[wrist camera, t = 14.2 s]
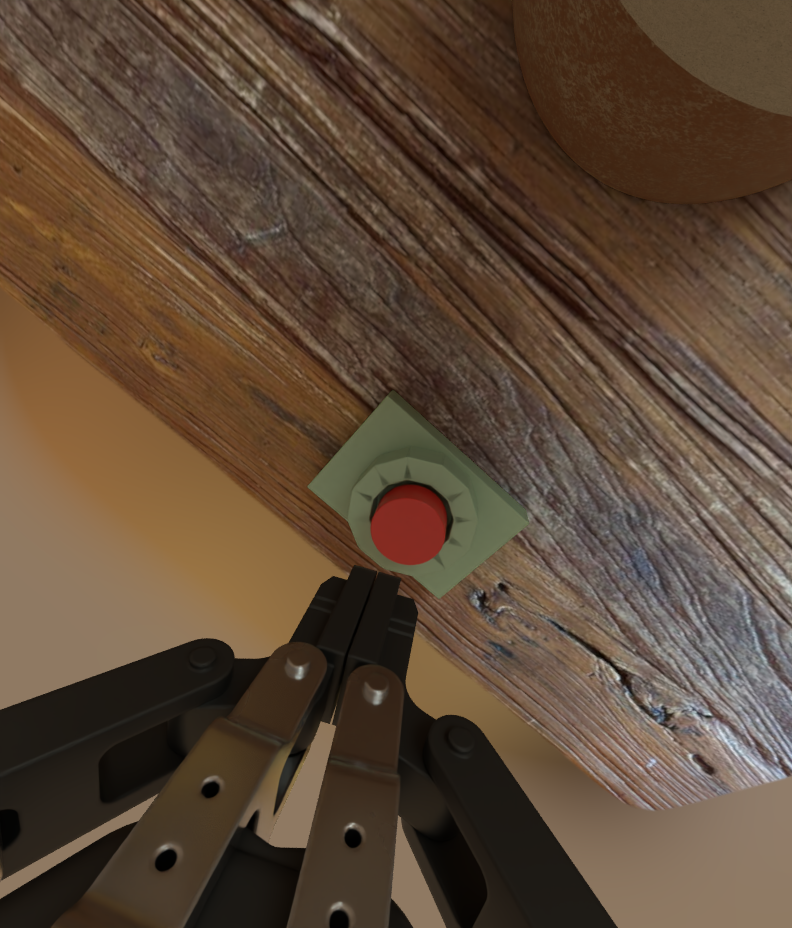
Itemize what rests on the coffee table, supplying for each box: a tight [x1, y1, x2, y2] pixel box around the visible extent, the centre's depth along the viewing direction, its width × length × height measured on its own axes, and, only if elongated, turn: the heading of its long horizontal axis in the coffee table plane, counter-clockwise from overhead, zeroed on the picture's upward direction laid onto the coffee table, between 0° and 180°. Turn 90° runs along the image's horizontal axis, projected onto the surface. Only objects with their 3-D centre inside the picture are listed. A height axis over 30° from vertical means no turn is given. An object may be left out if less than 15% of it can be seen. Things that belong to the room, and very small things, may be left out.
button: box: [370, 485, 447, 565], centre depth 22 cm, size 4×4×2 cm
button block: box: [307, 390, 529, 599], centre depth 24 cm, size 10×7×4 cm
